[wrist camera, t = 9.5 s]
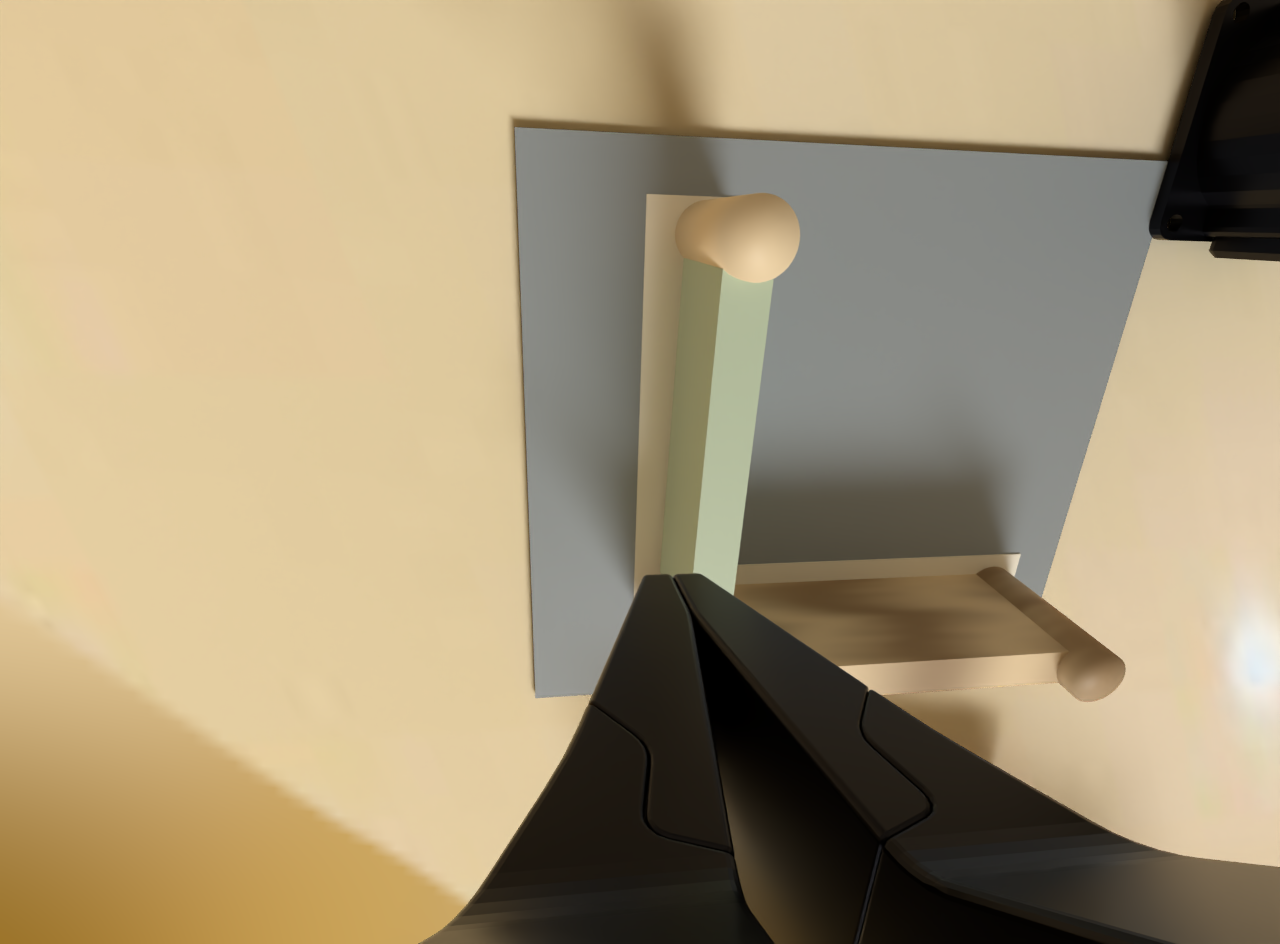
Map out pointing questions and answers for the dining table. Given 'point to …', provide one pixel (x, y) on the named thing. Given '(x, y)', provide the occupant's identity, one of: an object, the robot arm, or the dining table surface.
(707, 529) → the fence panel
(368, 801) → the dining table surface
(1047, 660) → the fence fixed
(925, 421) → the card
